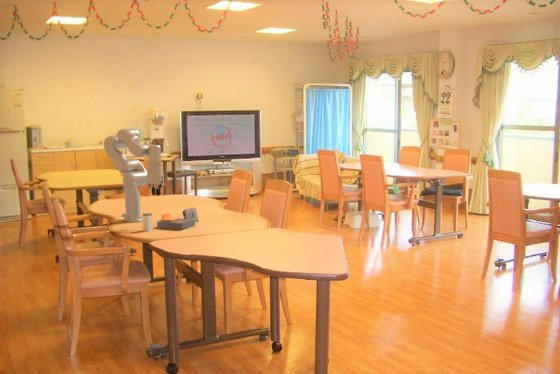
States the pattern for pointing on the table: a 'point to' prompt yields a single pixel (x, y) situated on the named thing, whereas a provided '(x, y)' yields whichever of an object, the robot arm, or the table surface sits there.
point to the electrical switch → (190, 214)
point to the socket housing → (176, 224)
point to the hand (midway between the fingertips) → (156, 194)
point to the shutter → (168, 218)
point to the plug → (147, 222)
